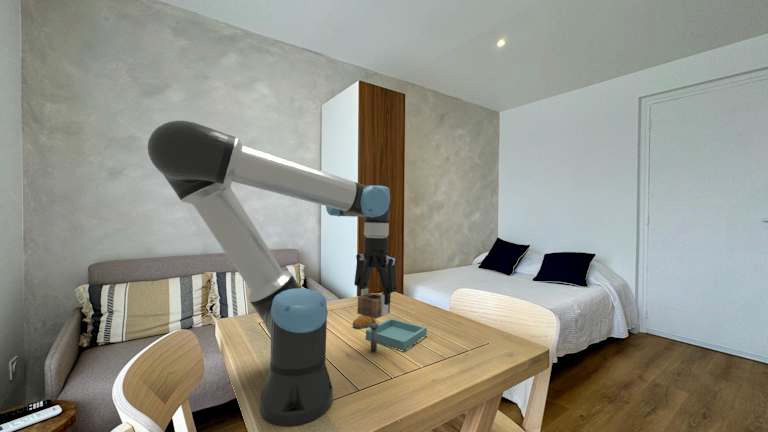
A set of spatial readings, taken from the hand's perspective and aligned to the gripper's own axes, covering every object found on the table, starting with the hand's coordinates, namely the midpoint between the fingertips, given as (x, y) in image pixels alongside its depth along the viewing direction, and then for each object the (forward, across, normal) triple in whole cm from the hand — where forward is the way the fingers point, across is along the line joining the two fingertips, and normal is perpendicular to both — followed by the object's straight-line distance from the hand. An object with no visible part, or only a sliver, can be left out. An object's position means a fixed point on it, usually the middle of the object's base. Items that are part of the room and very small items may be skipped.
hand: (373, 312), depth 89 cm
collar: (0, 0, 0) cm, 0 cm away
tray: (+12, 0, -13) cm, 18 cm away
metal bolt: (+12, 0, 0) cm, 12 cm away
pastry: (+12, +16, -16) cm, 26 cm away
